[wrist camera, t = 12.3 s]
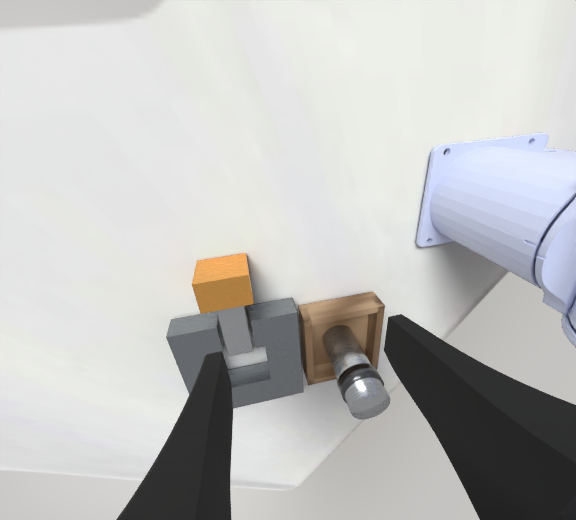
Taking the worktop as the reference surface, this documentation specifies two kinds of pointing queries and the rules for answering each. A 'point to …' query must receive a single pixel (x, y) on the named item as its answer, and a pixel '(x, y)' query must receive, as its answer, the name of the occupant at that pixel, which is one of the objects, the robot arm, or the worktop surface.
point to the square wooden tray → (341, 311)
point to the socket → (267, 332)
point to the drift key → (226, 297)
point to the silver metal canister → (355, 373)
